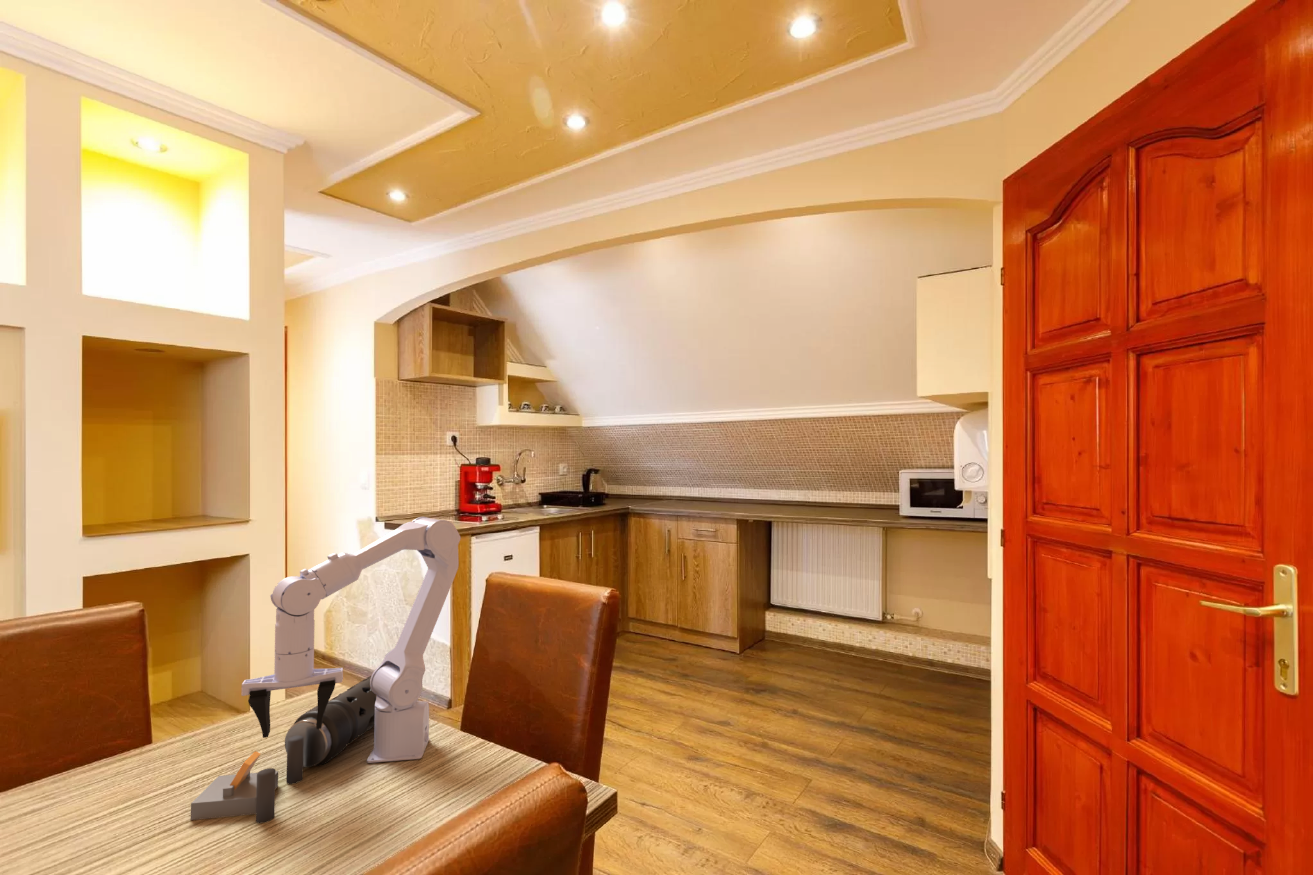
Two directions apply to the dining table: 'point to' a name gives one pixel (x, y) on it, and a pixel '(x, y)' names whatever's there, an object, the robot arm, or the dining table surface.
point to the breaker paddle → (245, 769)
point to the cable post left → (265, 795)
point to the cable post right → (294, 759)
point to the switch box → (227, 798)
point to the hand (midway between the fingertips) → (293, 730)
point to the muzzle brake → (335, 724)
